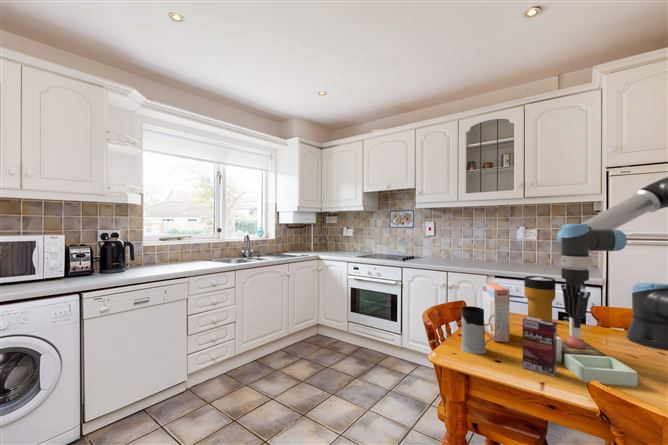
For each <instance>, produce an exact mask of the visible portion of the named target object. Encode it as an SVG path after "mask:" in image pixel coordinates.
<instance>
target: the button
mask: <svg viewBox="0 0 668 445" xmlns="http://www.w3.org/2000/svg"><path fill="white" fill-rule="evenodd" d="M585 343H586V342H585V340H584V339H583V338H582V337H572V336H566V346H567V347H569V348H572V349H578V350H584V349H585Z"/></svg>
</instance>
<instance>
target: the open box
mask: <svg viewBox="0 0 668 445" xmlns="http://www.w3.org/2000/svg"><path fill="white" fill-rule="evenodd" d="M561 341H562V338H561V337H559V336H557V341H556V342H557V343H556V344H557V345H556V364H558V363H560V364H563V362H562V342H561Z"/></svg>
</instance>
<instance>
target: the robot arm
mask: <svg viewBox="0 0 668 445" xmlns="http://www.w3.org/2000/svg"><path fill="white" fill-rule="evenodd" d="M666 208H668V176H666V177H665V178H664V177H663V178H661V179H659V180H657V181H654V182H652V183H650V184H648V185H646V186H644V187H642V188H640V189H638V190H636V191H634V192H633V194H632V196H630V197H629V198H627V199H625V200H623V201H621V202H619V203H617V204H615V205H613V206H612V207H610V208H608V209H606V210H604V211H602V212H600V213H598V214H596V215H594V216H593V217H591V218H589V219H586V220H584V221H583V222H581V223H564V224H563V225H562V226H561V229H560V230H559V231H558V232H557V234H556V242H557V243H558V244H559V245H560V246H561V258H560V261H561V267H562V268H561V269H560V270H561V271H560V272H561V273H560V274H561V278H562V279H563V280H565V282H564V283H565V284H561V285H560V287H561V290H562V296H563V297H562V298H563V305H564V311H565V313H566V314H567V315H568V316H569V318H568V319H569V321H568V322H569V326H568V327H569V337H577V338H582V336H581V334H582V333H581V332H582V328H581V325H582V322H581V320H582V319H585V318H586V317H587V311H588V310H587V309H588V305H589V299H590V297H591V292H590V291H587V290H586V284H585V282H588V281H589V280H590V271H589V268H590V252H618V251H622V250H623V249H624V248H626V246H627V243H628V240H627V239H628V238H627V235H626V234H625V232H624V231H622V230H619V229H618V228H620V227H621V226H624V225H625V224H627V223H629V222H631V221H633V220H635V219H637V218H639V217H641V216H643V215H645V214H646V213H655V212H657V211H659V210H661V209H666ZM631 302H632V303H631V304H632V308H631V310H632V320H631V322H630V324H629V327H628V330H626V339H628V340H630V341H632V342H634V343H636V344H638V345H642V346H644V347H645V346H646V347H649V348H655V349H659V350H660V349H661V350H668V283H655V282H653V283H651V282H649V283H648V282H639V283H638V282H637V283H635V284H633V285H632V291H631Z"/></svg>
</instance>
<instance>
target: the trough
mask: <svg viewBox="0 0 668 445" xmlns="http://www.w3.org/2000/svg"><path fill="white" fill-rule="evenodd" d="M563 364H564V367H565V368H566V369H567V368H568V371H570V372H571V373H572V374H573V373H574V374H573V375H574V376H576V377H577V378H578V377H579V378H580V379H579V378H578V379H579V380H581V381H582V382H583V383H588V382H590V381H594V380H595V381H598V382H600V383H602V384H601V385H603V384H604V385H615V386H628V387H638V372H637V371H635V369H632V368H631V367H629V366H627V365H626V364H624V363H622V362H621V361H620V360H617V359H616V358H614V357H612V356H606V355H605V356H590V355H574V354H564V363H563ZM600 383H599V384H600Z"/></svg>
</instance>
